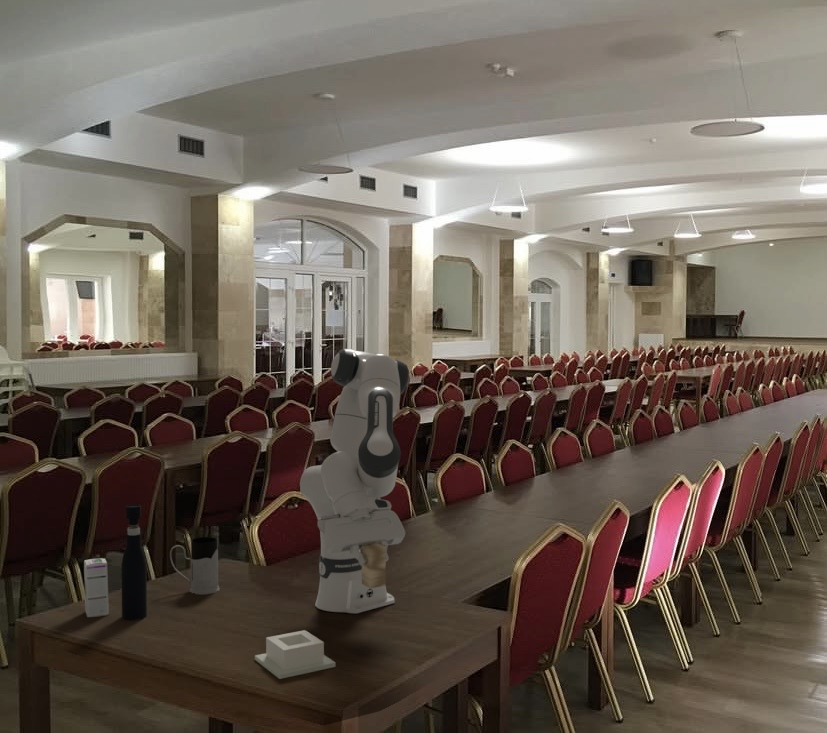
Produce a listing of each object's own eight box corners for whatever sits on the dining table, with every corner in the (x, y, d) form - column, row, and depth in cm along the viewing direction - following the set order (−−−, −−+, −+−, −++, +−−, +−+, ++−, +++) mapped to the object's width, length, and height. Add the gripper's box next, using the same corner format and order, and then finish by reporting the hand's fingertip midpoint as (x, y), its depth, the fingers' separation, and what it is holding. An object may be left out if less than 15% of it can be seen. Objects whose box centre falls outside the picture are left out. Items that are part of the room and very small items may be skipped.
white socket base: (308, 648, 226) (308, 626, 225) (335, 666, 214) (335, 643, 214) (254, 659, 218) (254, 636, 218) (279, 679, 206) (279, 654, 206)
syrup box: (109, 615, 251) (108, 562, 250) (86, 618, 249) (85, 564, 248) (106, 609, 256) (106, 557, 256) (84, 611, 254) (83, 559, 253)
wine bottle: (133, 621, 246) (132, 509, 244) (116, 617, 249) (115, 506, 248) (151, 615, 251) (150, 505, 250) (135, 611, 254) (134, 502, 253)
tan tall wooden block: (376, 581, 217) (376, 543, 216) (385, 585, 213) (385, 546, 213) (361, 584, 215) (361, 545, 214) (370, 588, 211) (370, 549, 211)
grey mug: (219, 593, 272) (219, 542, 271) (169, 596, 269) (169, 544, 268) (219, 585, 280) (219, 535, 279) (170, 587, 277) (170, 538, 276)
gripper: (319, 509, 213) (339, 560, 206) (395, 500, 224) (417, 549, 217) (310, 525, 217) (330, 576, 210) (386, 515, 228) (407, 563, 221)
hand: (375, 562), depth 213 cm, fingers closed on tan tall wooden block, 4 cm apart
